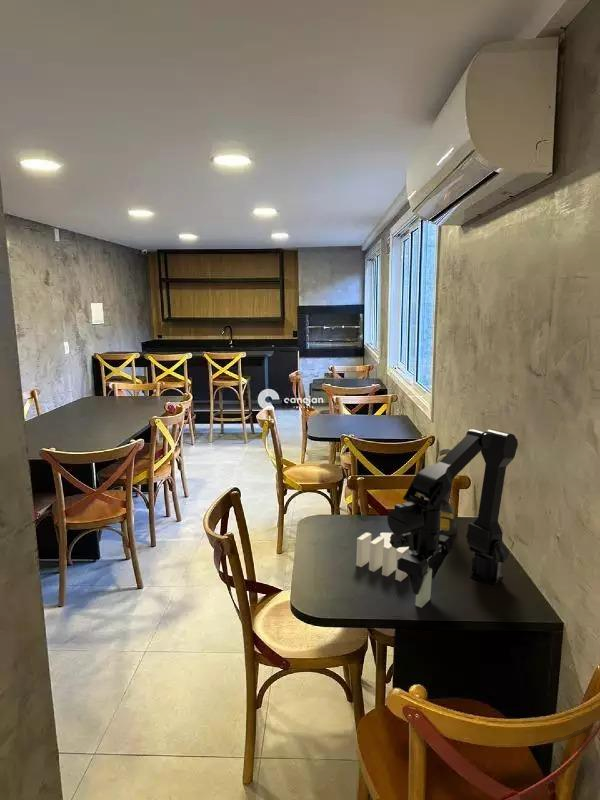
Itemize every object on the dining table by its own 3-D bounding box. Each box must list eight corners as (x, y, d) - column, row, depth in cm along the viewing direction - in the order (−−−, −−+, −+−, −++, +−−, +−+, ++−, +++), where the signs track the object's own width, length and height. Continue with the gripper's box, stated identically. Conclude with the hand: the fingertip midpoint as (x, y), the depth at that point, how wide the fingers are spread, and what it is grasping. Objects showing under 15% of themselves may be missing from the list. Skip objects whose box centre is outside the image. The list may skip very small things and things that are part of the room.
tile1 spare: (430, 598, 131) (432, 568, 129) (421, 607, 127) (423, 576, 125) (424, 596, 132) (426, 566, 130) (415, 605, 128) (417, 574, 126)
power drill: (459, 546, 159) (464, 466, 155) (428, 543, 161) (432, 464, 156) (453, 520, 179) (458, 448, 174) (426, 517, 180) (430, 446, 176)
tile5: (370, 560, 150) (371, 533, 148) (361, 567, 146) (362, 539, 144) (365, 558, 151) (366, 532, 149) (356, 565, 147) (357, 538, 145)
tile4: (383, 564, 147) (384, 537, 146) (374, 571, 144) (375, 544, 142) (378, 563, 148) (379, 536, 147) (368, 570, 144) (369, 542, 143)
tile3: (396, 569, 145) (397, 541, 144) (387, 576, 141) (388, 548, 140) (390, 567, 146) (392, 540, 145) (381, 574, 142) (383, 546, 141)
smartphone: (387, 555, 152) (379, 532, 167) (386, 557, 153) (379, 534, 167) (412, 555, 152) (402, 532, 167) (412, 558, 153) (402, 535, 167)
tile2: (409, 573, 143) (411, 546, 141) (400, 581, 139) (402, 552, 137) (404, 572, 144) (405, 544, 142) (395, 579, 140) (396, 551, 138)
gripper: (413, 505, 138) (410, 561, 141) (378, 529, 123) (375, 590, 126) (455, 516, 131) (451, 574, 134) (422, 542, 117) (419, 607, 119)
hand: (424, 585), depth 129 cm, fingers open, 9 cm apart
